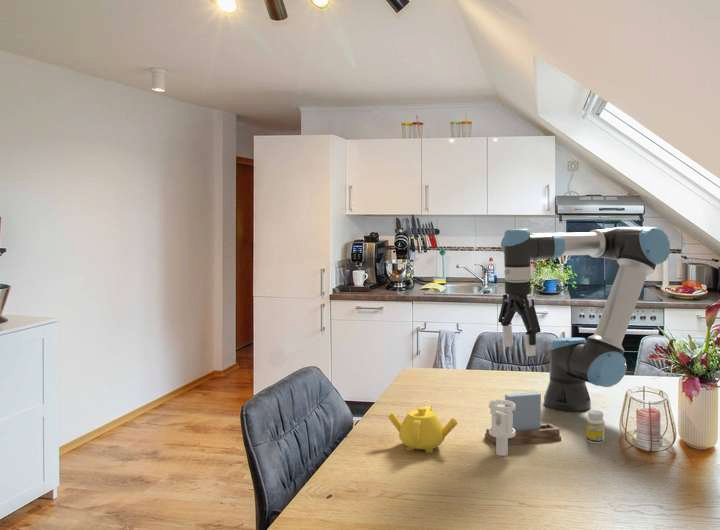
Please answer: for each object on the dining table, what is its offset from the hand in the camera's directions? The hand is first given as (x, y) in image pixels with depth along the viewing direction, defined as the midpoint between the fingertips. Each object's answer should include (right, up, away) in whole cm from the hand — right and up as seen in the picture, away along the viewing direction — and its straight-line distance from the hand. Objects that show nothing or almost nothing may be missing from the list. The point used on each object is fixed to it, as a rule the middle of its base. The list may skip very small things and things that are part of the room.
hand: (518, 351), depth 186 cm
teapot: (-30, -25, -12) cm, 41 cm away
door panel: (-1, -23, -6) cm, 24 cm away
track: (-1, -24, -6) cm, 25 cm away
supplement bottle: (+19, -25, -9) cm, 33 cm away
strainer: (-9, -26, -18) cm, 33 cm away
